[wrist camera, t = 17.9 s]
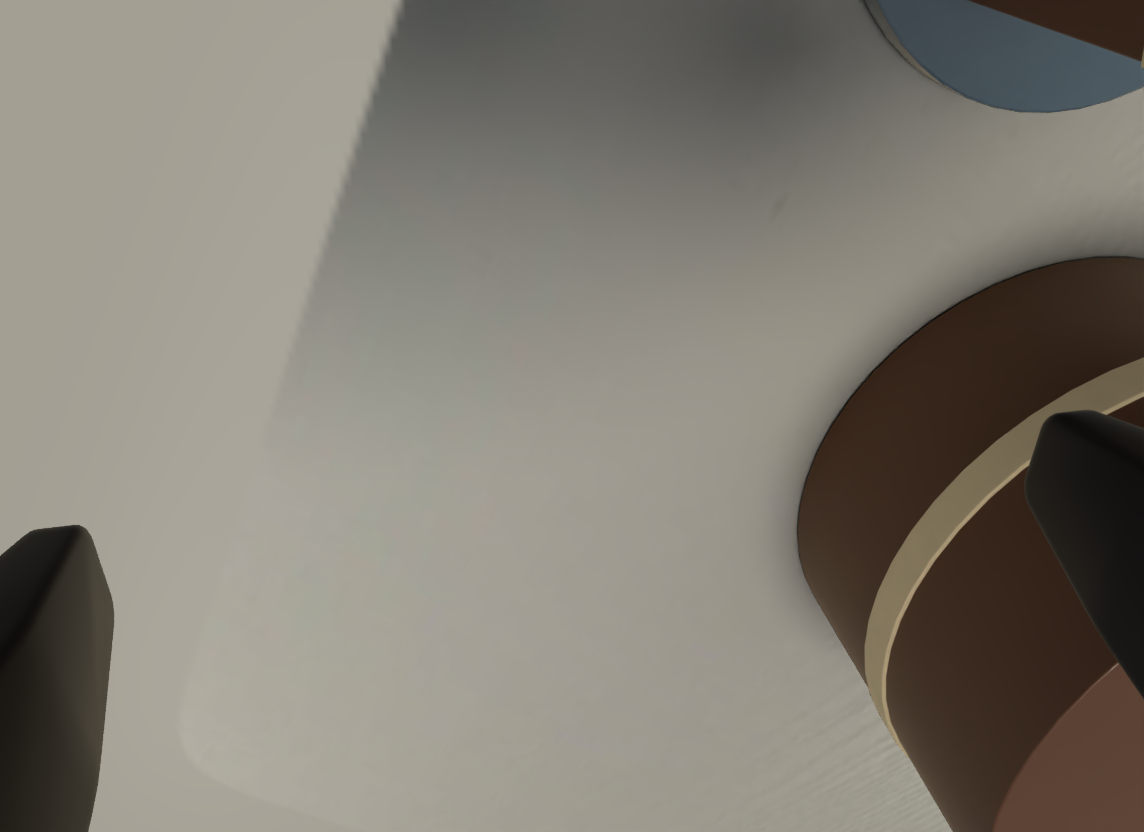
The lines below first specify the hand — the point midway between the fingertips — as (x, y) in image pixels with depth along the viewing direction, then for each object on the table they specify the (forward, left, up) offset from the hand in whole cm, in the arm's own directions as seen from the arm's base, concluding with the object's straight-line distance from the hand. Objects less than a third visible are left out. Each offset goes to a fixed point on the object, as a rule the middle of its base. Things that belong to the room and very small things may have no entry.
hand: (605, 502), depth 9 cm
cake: (+16, -11, -13) cm, 24 cm away
